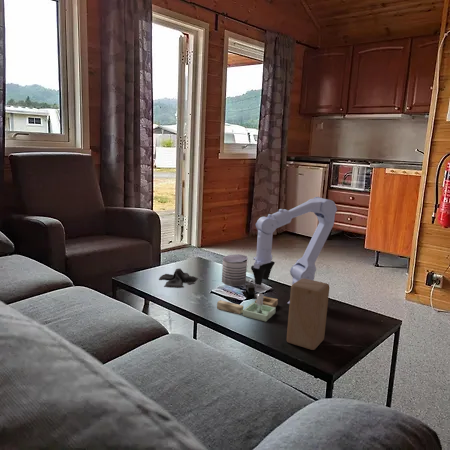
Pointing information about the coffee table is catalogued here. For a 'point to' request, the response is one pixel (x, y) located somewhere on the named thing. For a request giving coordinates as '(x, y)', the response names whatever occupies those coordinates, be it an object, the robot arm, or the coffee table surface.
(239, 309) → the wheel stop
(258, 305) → the pin
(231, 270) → the can
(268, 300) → the pin socket
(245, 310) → the tray
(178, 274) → the cloth
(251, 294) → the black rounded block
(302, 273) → the robot arm
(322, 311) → the wooden block
